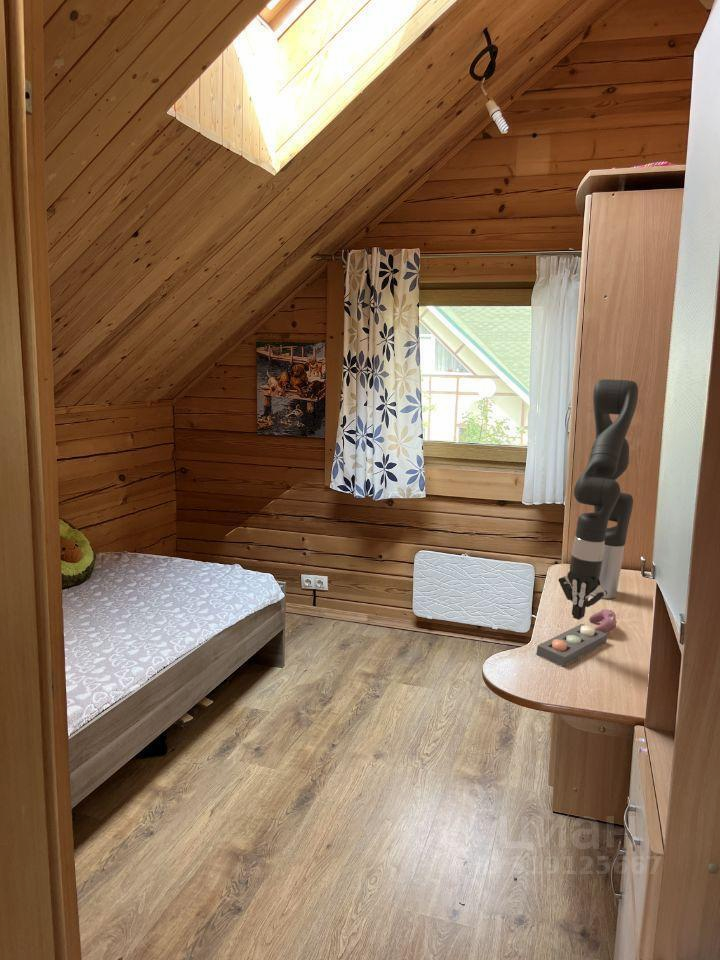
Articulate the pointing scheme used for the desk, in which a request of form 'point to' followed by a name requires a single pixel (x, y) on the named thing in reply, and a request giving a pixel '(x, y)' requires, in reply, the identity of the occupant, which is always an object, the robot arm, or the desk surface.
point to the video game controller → (604, 620)
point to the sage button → (573, 639)
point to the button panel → (571, 646)
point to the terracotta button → (559, 645)
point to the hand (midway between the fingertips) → (577, 618)
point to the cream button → (587, 631)
